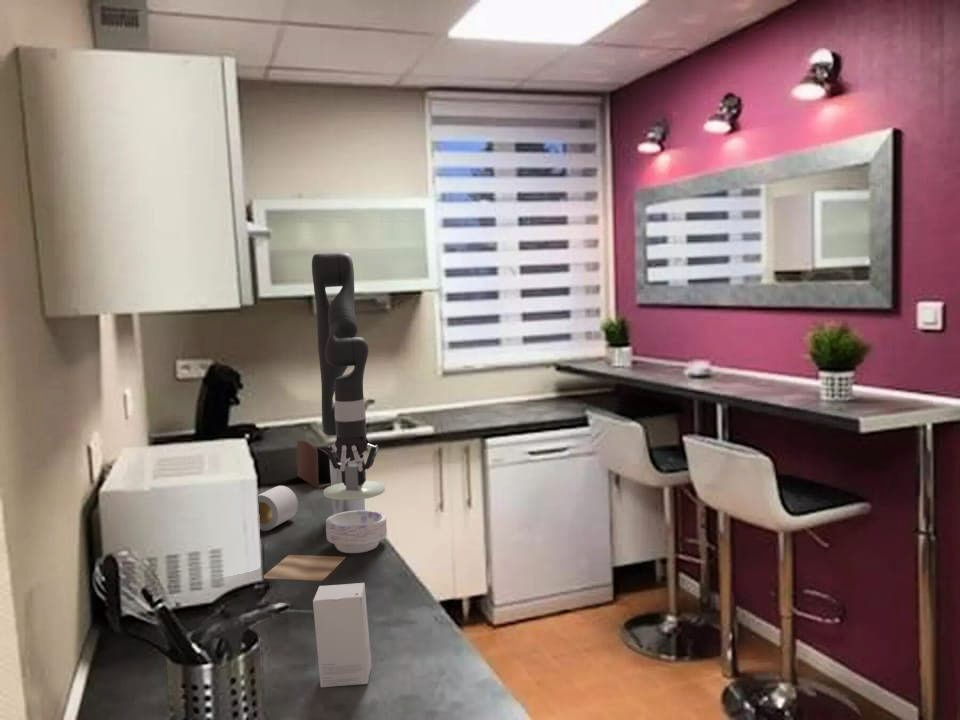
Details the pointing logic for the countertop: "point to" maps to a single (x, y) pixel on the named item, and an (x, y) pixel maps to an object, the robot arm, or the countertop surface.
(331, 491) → the lid
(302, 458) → the letter holder
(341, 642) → the skincare box
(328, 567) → the mat
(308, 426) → the countertop surface
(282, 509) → the toilet paper
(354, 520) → the paper bowls
